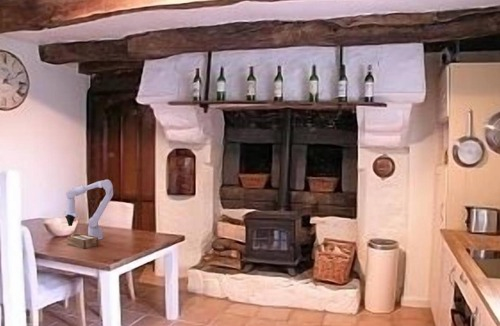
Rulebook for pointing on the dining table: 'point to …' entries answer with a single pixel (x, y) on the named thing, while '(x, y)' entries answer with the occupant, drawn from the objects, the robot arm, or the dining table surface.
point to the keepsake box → (83, 242)
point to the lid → (80, 236)
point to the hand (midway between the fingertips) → (70, 225)
